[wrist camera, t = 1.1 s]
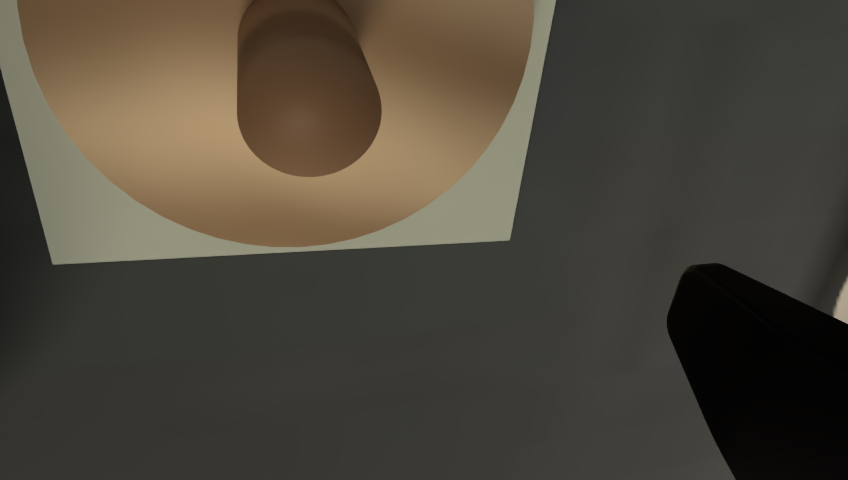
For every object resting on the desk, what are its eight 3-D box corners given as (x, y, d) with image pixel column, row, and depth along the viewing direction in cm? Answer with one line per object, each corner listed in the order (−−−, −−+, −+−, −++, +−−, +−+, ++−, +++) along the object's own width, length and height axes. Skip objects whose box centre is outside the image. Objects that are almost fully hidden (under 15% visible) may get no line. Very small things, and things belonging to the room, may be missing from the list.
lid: (485, 215, 22) (541, 322, 18) (84, 234, 20) (43, 363, 15) (559, -232, 16) (674, -223, 11) (-38, -297, 13) (-171, -319, 9)
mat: (504, 230, 24) (509, 240, 23) (57, 252, 20) (52, 264, 20) (598, -279, 16) (610, -280, 15) (-105, -373, 13) (-119, -378, 12)
